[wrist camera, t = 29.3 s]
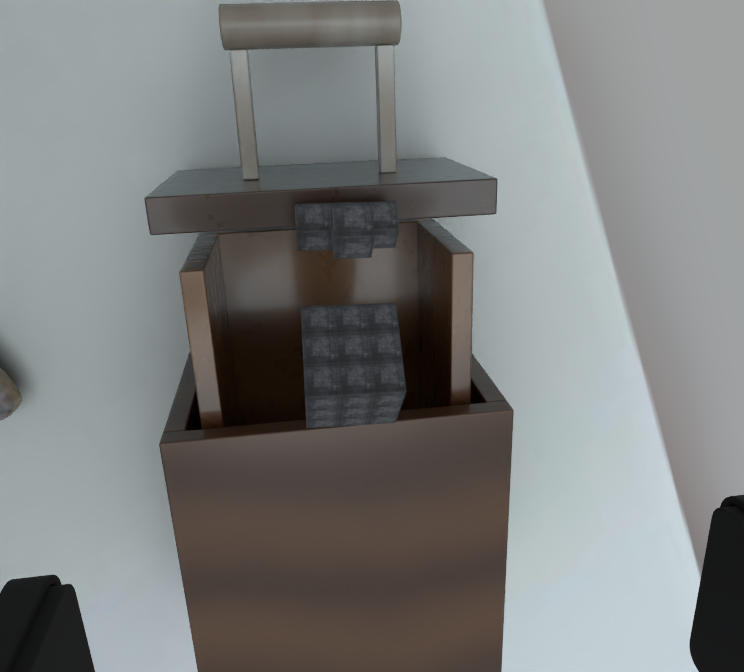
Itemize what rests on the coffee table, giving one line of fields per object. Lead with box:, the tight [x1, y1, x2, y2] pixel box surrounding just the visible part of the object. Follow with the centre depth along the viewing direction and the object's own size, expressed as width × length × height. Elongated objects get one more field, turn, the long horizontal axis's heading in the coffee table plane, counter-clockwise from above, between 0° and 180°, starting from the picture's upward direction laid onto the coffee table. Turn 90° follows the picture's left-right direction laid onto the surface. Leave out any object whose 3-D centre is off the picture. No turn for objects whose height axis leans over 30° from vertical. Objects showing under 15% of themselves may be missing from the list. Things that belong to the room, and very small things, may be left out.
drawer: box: [145, 0, 497, 429], centre depth 26 cm, size 18×11×7 cm, turn 2°
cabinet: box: [159, 351, 513, 672], centre depth 30 cm, size 14×13×9 cm
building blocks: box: [295, 201, 406, 428], centre depth 21 cm, size 3×6×8 cm
